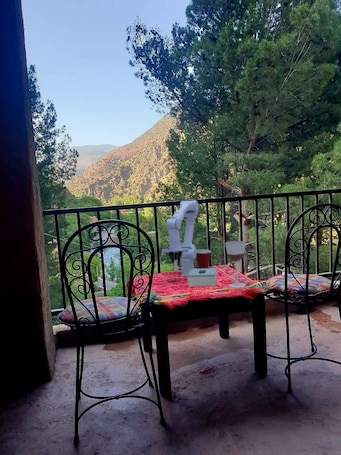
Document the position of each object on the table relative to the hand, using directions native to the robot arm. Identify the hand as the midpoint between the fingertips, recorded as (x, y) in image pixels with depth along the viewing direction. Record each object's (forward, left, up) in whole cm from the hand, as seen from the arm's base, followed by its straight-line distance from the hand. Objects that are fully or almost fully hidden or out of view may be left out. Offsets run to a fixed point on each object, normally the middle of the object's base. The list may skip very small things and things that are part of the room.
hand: (176, 265), depth 195 cm
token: (0, 0, -2) cm, 2 cm away
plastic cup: (-27, +12, -9) cm, 31 cm away
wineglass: (+9, +32, -9) cm, 35 cm away
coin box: (+3, +14, -9) cm, 17 cm away
